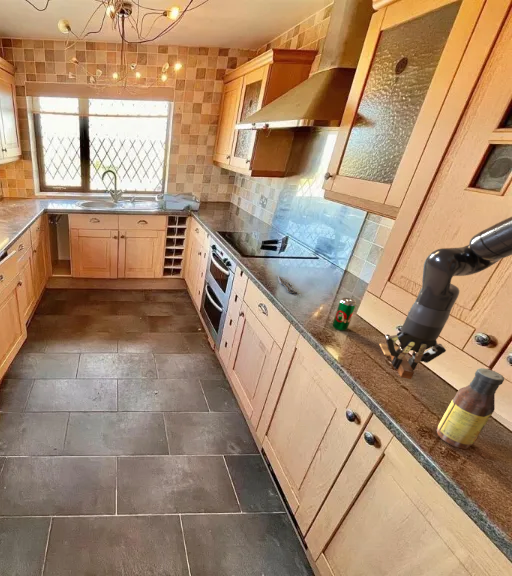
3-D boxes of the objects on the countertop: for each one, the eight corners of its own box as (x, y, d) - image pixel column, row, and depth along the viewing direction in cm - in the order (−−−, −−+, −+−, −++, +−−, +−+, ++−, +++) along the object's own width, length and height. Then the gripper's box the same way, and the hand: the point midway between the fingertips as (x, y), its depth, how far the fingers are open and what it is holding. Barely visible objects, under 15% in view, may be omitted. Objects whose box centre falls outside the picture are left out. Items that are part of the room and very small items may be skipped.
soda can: (342, 324, 120) (352, 297, 114) (350, 331, 115) (360, 303, 110) (329, 323, 120) (338, 296, 115) (335, 331, 116) (345, 303, 110)
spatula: (416, 380, 86) (420, 373, 85) (394, 375, 88) (398, 369, 87) (398, 348, 99) (400, 341, 98) (379, 344, 101) (382, 338, 100)
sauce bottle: (476, 453, 71) (524, 389, 62) (442, 445, 73) (484, 382, 64) (459, 430, 77) (501, 368, 68) (428, 423, 78) (465, 362, 70)
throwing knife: (288, 293, 143) (288, 292, 143) (273, 275, 161) (273, 274, 161) (297, 293, 143) (298, 292, 143) (281, 276, 161) (282, 275, 161)
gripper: (398, 320, 82) (376, 370, 90) (467, 331, 77) (437, 383, 85) (390, 307, 88) (369, 355, 96) (452, 317, 83) (426, 366, 91)
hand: (401, 368), depth 90 cm, fingers closed on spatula, 2 cm apart
